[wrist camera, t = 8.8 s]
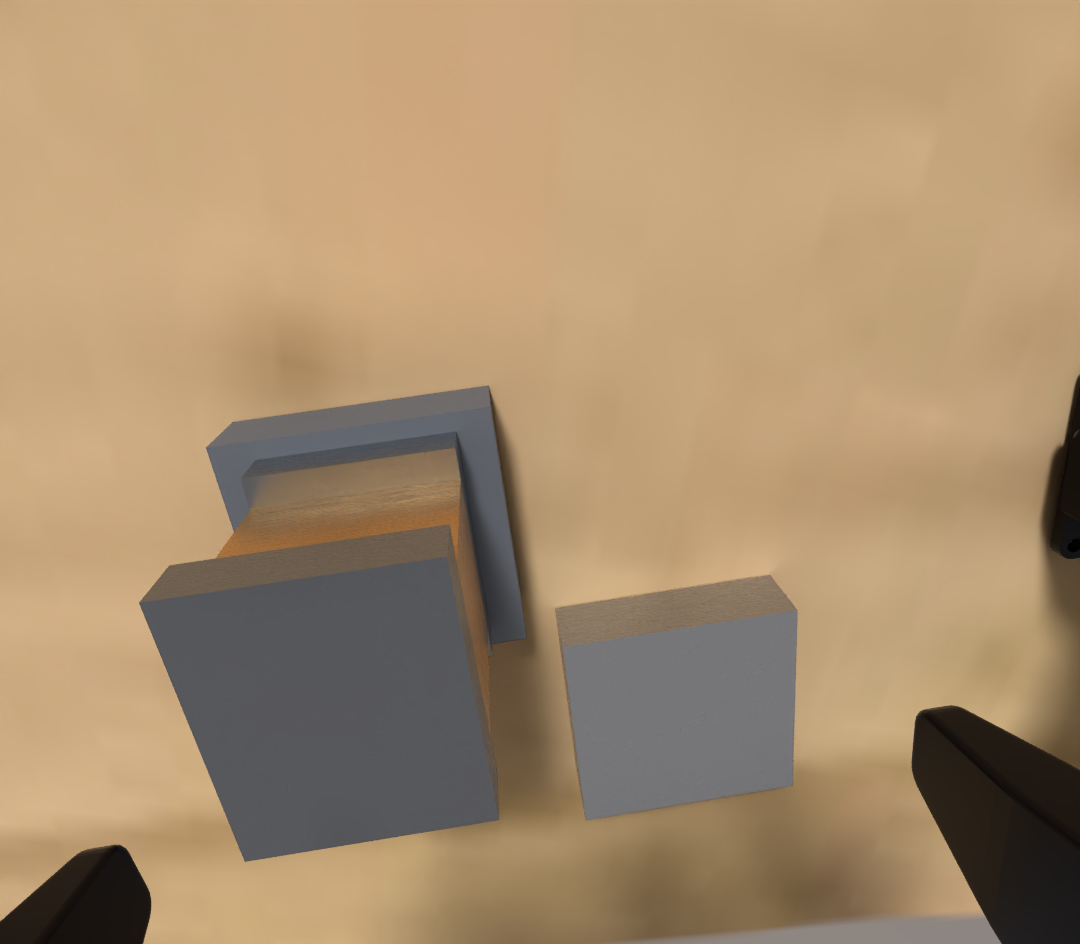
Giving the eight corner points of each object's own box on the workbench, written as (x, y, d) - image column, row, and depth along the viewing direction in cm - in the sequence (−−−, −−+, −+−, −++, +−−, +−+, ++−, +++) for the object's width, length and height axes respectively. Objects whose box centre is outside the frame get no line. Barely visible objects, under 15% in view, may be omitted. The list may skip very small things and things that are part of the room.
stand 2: (770, 574, 22) (797, 610, 20) (768, 741, 25) (792, 785, 23) (555, 608, 22) (562, 647, 20) (577, 773, 24) (585, 820, 23)
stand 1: (488, 385, 19) (489, 406, 17) (521, 600, 22) (526, 638, 20) (232, 422, 19) (205, 447, 17) (298, 634, 21) (282, 676, 19)
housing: (491, 629, 19) (499, 819, 14) (314, 656, 19) (245, 861, 13) (456, 431, 17) (447, 556, 11) (255, 459, 17) (138, 602, 11)
